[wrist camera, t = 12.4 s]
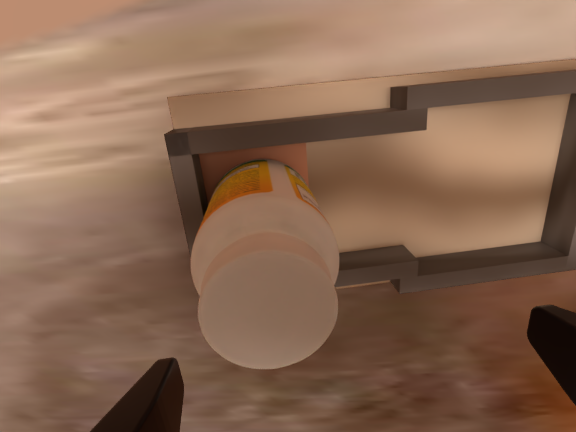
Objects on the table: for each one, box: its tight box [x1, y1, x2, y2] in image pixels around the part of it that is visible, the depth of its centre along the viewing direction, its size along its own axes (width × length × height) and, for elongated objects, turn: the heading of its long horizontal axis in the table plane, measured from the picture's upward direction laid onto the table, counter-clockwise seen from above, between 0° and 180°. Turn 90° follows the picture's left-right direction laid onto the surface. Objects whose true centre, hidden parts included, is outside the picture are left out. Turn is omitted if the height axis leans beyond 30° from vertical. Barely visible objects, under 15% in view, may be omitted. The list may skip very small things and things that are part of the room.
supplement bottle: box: [191, 159, 339, 369], centre depth 14 cm, size 5×5×10 cm
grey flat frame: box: [164, 59, 576, 298], centre depth 18 cm, size 12×22×3 cm, turn 95°
